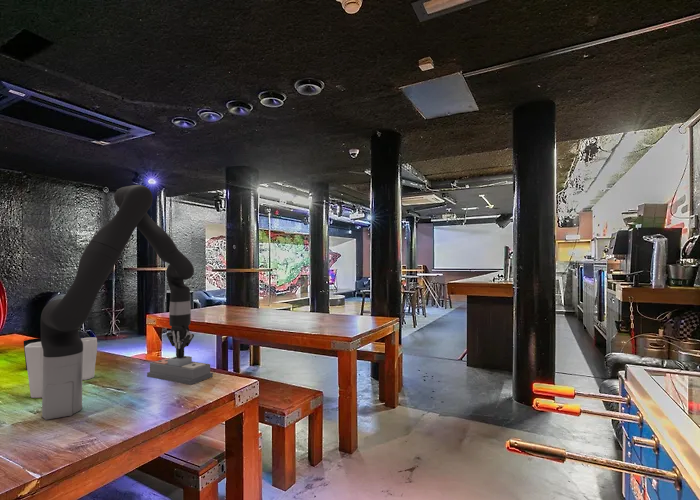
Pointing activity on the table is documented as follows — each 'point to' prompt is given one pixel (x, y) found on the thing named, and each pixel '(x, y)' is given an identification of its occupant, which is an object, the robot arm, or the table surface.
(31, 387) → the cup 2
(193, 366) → the ivory tile
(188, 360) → the slate tile
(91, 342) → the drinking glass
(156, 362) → the coral tile
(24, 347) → the cup
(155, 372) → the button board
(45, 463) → the table surface
